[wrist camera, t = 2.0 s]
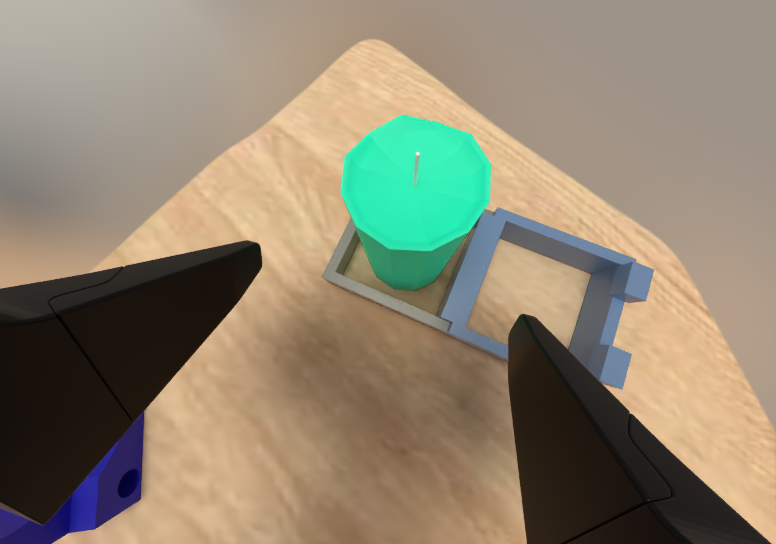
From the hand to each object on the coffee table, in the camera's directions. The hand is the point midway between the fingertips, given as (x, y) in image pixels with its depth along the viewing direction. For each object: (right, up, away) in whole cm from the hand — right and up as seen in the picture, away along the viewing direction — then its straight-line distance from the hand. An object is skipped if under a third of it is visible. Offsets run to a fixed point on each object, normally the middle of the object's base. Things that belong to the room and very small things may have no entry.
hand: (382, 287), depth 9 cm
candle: (+2, +2, +12) cm, 12 cm away
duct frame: (+6, 0, +11) cm, 13 cm away
